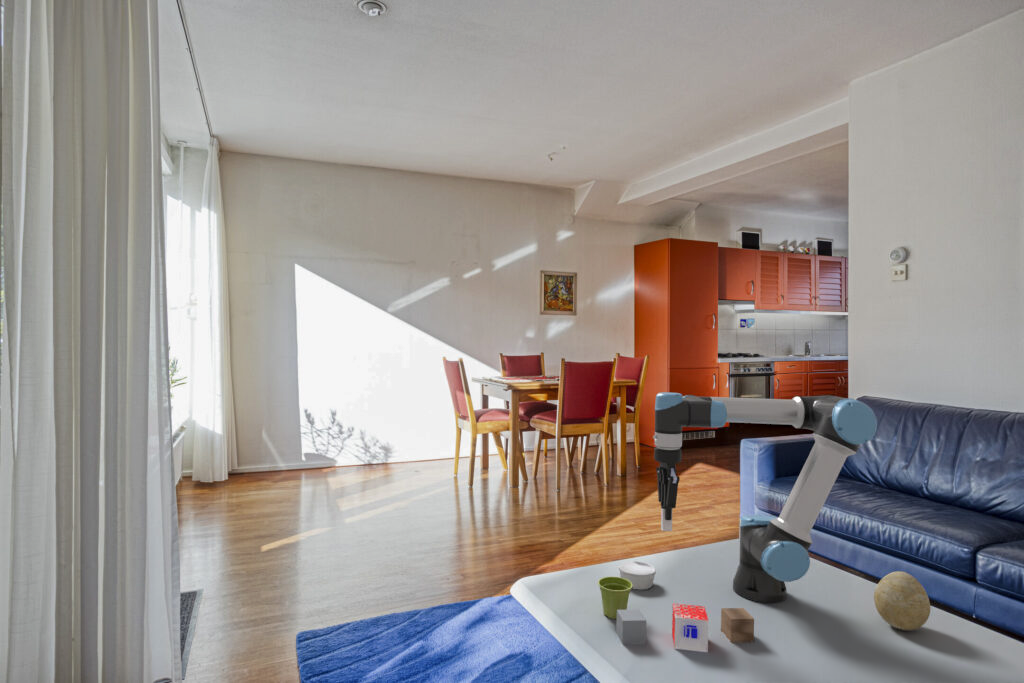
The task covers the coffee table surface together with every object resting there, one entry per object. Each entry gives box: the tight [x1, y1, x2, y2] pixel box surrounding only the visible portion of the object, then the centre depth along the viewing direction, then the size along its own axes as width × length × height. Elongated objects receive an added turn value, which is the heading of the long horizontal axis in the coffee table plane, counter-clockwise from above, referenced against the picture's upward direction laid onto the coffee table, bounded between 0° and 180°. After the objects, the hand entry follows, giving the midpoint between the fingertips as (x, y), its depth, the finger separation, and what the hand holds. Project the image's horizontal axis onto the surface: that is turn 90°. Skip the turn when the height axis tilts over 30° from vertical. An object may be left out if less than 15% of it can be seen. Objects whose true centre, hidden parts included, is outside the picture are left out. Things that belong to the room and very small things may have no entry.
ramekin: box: [618, 560, 657, 591], centre depth 186 cm, size 11×11×5 cm
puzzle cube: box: [671, 603, 710, 653], centre depth 151 cm, size 8×8×8 cm
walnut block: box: [720, 607, 755, 643], centre depth 155 cm, size 6×6×6 cm
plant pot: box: [597, 576, 633, 620], centre depth 166 cm, size 9×9×9 cm
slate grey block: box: [615, 609, 647, 645], centre depth 153 cm, size 6×6×6 cm
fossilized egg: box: [873, 570, 931, 631], centre depth 161 cm, size 13×13×15 cm
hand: (666, 530), depth 170 cm, fingers closed
